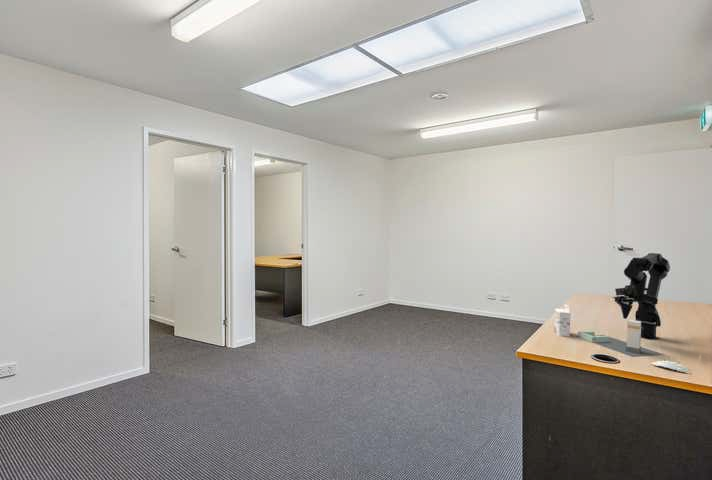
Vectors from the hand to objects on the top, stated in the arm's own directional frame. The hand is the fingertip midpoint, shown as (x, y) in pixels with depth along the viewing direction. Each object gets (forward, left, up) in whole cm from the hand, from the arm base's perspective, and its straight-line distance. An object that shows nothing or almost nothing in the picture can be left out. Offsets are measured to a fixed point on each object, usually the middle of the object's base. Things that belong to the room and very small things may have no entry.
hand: (632, 318), depth 173 cm
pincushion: (+13, +28, -12) cm, 33 cm away
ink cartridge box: (+18, -20, -12) cm, 30 cm away
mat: (+7, 0, -12) cm, 14 cm away
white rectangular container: (+8, +9, -11) cm, 16 cm away
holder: (+10, -9, -11) cm, 18 cm away
